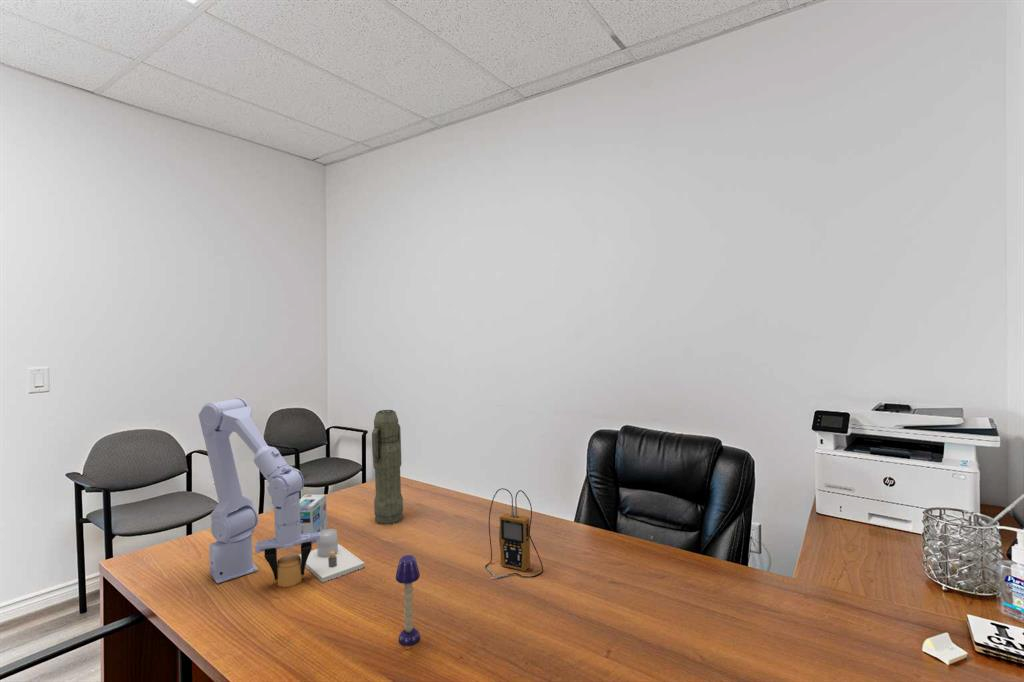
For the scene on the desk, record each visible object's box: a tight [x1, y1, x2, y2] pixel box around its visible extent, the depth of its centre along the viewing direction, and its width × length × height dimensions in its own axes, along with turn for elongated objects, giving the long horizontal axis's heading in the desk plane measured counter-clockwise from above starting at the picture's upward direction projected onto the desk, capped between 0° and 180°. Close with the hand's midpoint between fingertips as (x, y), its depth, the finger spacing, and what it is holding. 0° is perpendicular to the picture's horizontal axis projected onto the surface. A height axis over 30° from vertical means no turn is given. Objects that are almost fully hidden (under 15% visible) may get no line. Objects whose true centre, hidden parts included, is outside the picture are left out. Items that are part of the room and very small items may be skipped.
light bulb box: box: [299, 494, 328, 533], centre depth 152 cm, size 11×7×11 cm, turn 179°
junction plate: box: [298, 528, 366, 583], centre depth 134 cm, size 11×17×7 cm, turn 42°
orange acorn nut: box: [277, 553, 302, 588], centre depth 125 cm, size 5×5×6 cm
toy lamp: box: [395, 554, 421, 647], centre depth 101 cm, size 5×5×17 cm
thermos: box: [371, 409, 404, 525], centre depth 163 cm, size 9×12×35 cm
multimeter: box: [485, 487, 544, 580], centre depth 126 cm, size 15×10×20 cm
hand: (289, 575), depth 125 cm, fingers closed on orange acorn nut, 5 cm apart
